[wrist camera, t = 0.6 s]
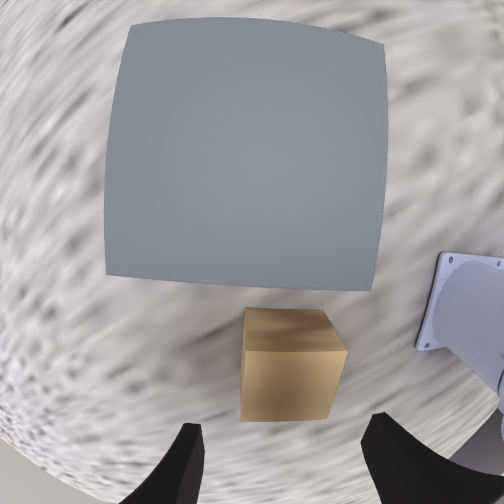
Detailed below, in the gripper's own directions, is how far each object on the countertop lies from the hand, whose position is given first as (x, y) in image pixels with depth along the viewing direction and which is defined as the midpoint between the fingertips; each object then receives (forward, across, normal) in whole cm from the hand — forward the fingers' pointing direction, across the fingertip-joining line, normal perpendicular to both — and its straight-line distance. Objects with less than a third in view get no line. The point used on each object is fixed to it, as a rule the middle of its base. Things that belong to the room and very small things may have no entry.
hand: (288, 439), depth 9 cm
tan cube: (+8, -1, 0) cm, 9 cm away
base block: (+8, +2, -12) cm, 15 cm away
